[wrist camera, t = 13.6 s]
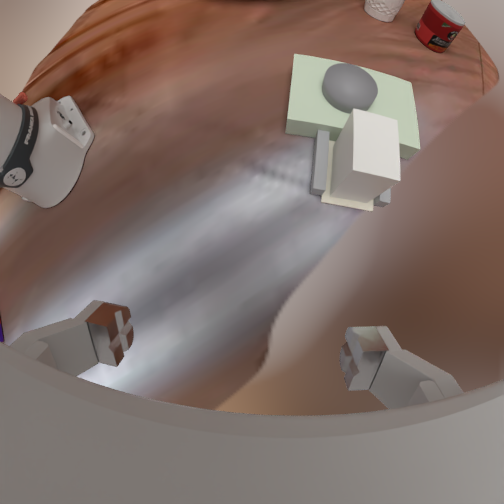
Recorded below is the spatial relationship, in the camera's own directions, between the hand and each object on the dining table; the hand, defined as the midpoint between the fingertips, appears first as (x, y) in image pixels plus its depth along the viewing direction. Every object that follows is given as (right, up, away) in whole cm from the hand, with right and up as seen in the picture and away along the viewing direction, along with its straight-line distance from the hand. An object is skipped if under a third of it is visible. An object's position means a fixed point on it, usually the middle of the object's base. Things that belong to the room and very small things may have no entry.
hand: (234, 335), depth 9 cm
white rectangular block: (+13, +13, +23) cm, 30 cm away
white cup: (+27, +53, +25) cm, 65 cm away
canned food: (+38, +48, +24) cm, 66 cm away
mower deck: (+14, +19, +24) cm, 34 cm away
